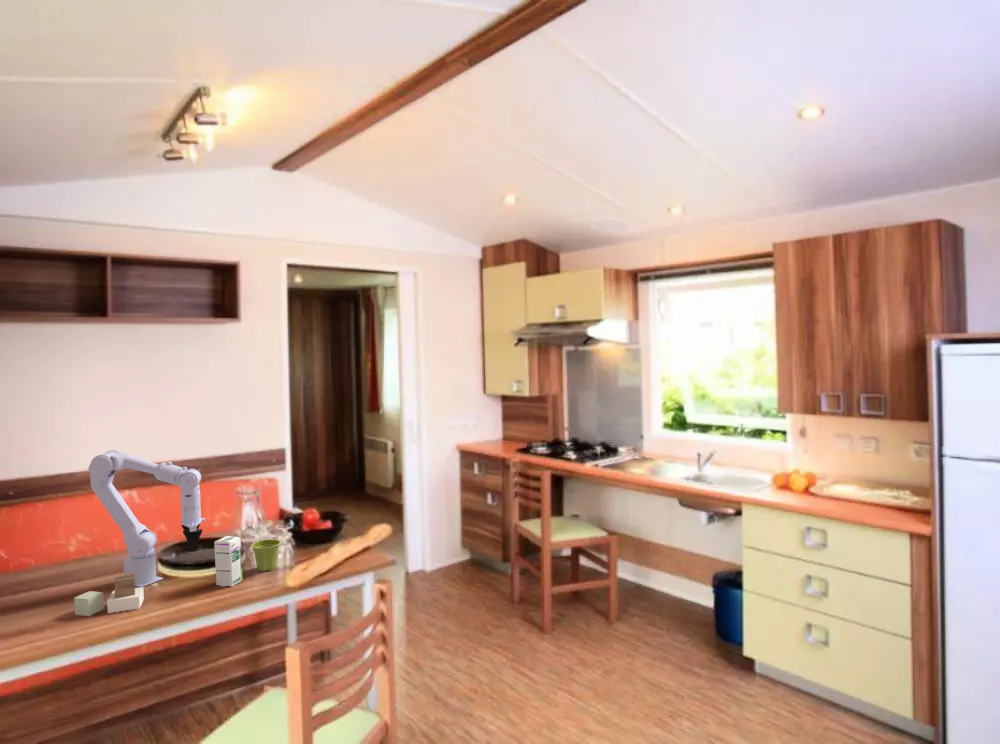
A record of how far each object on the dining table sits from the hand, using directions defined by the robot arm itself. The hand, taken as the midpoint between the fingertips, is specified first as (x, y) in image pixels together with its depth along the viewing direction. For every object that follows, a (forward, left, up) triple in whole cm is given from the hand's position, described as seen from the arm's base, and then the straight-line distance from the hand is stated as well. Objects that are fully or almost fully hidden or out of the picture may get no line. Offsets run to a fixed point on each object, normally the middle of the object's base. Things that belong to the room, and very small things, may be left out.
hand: (192, 548), depth 211 cm
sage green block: (-5, -31, -10) cm, 33 cm away
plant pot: (+16, +16, -10) cm, 25 cm away
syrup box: (+15, +1, -10) cm, 18 cm away
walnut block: (+1, -24, -6) cm, 25 cm away
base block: (+1, -24, -10) cm, 26 cm away
